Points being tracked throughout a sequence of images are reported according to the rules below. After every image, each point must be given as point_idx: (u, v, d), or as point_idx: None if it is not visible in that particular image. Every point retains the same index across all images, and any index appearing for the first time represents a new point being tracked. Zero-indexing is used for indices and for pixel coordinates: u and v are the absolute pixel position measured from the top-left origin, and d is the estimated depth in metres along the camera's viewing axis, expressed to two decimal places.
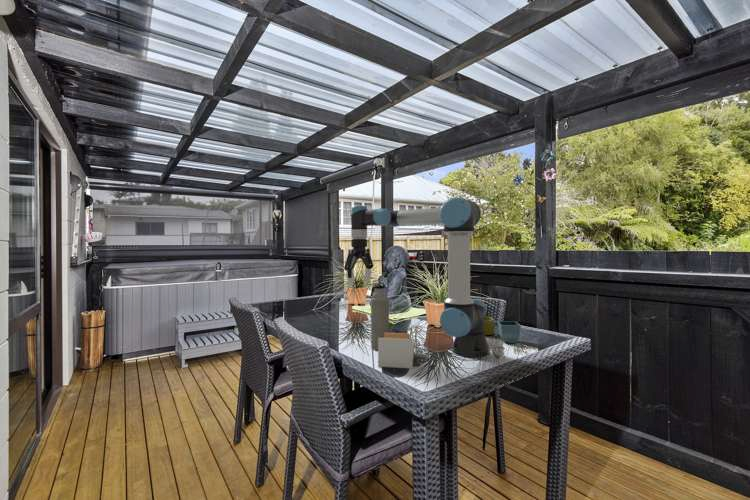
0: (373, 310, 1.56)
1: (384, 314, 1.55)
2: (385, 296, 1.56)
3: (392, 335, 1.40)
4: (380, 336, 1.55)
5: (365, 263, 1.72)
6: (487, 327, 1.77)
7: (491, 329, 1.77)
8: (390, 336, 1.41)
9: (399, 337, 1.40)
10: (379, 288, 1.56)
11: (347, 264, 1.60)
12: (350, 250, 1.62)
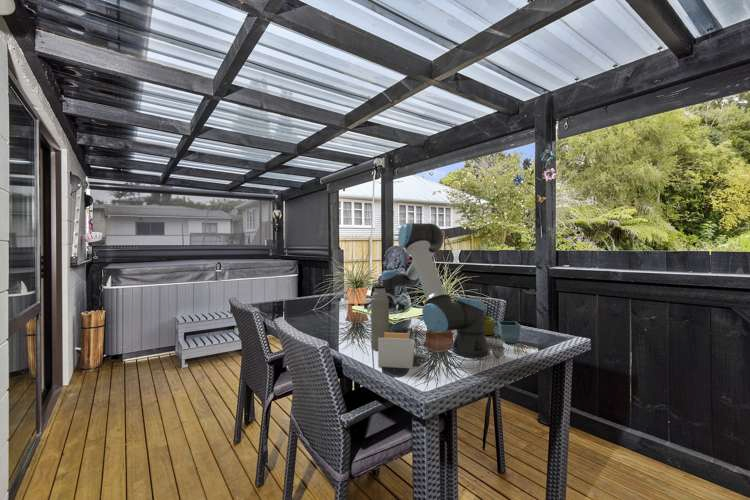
0: (373, 310, 1.56)
1: (384, 314, 1.55)
2: (385, 296, 1.56)
3: (392, 335, 1.40)
4: (380, 336, 1.55)
5: (394, 306, 1.76)
6: (487, 327, 1.77)
7: (491, 329, 1.77)
8: (390, 336, 1.41)
9: (399, 337, 1.40)
10: (379, 288, 1.56)
11: None
12: None
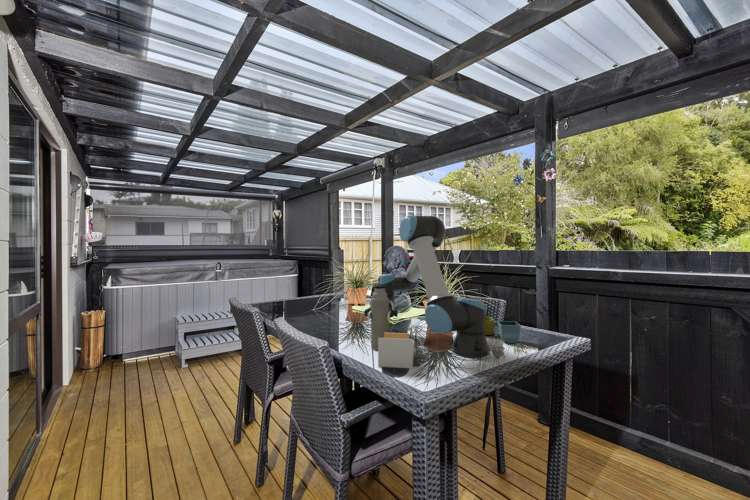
0: (373, 310, 1.56)
1: (384, 314, 1.55)
2: (385, 296, 1.56)
3: (392, 335, 1.40)
4: (380, 336, 1.55)
5: None
6: (487, 327, 1.77)
7: (491, 329, 1.77)
8: (390, 336, 1.41)
9: (399, 337, 1.40)
10: (379, 288, 1.56)
11: None
12: None
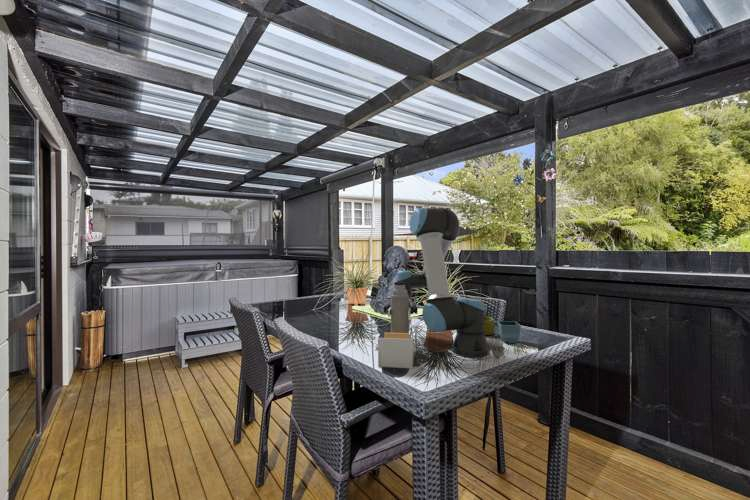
0: (393, 307, 1.53)
1: (404, 311, 1.52)
2: (405, 292, 1.53)
3: (392, 335, 1.40)
4: None
5: None
6: (487, 327, 1.77)
7: (491, 329, 1.77)
8: (390, 336, 1.41)
9: (399, 337, 1.40)
10: (399, 284, 1.53)
11: None
12: None
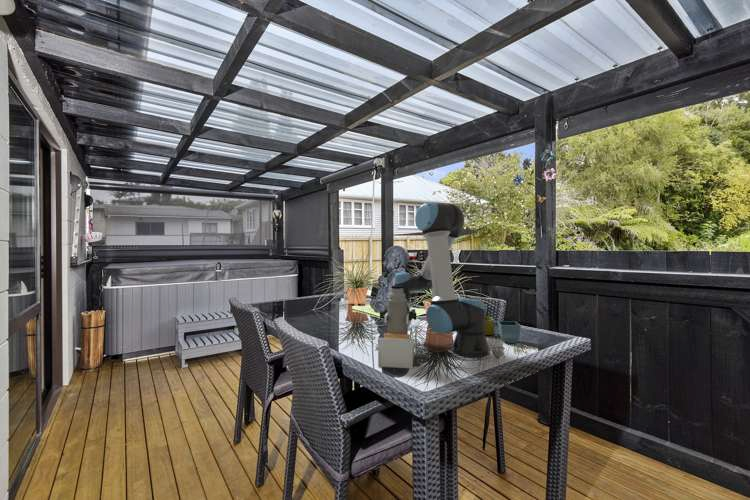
0: (390, 312, 1.41)
1: (402, 317, 1.40)
2: (403, 297, 1.41)
3: (392, 336, 1.39)
4: None
5: None
6: (487, 327, 1.77)
7: (491, 329, 1.77)
8: (390, 337, 1.39)
9: (399, 338, 1.39)
10: (397, 288, 1.41)
11: None
12: None
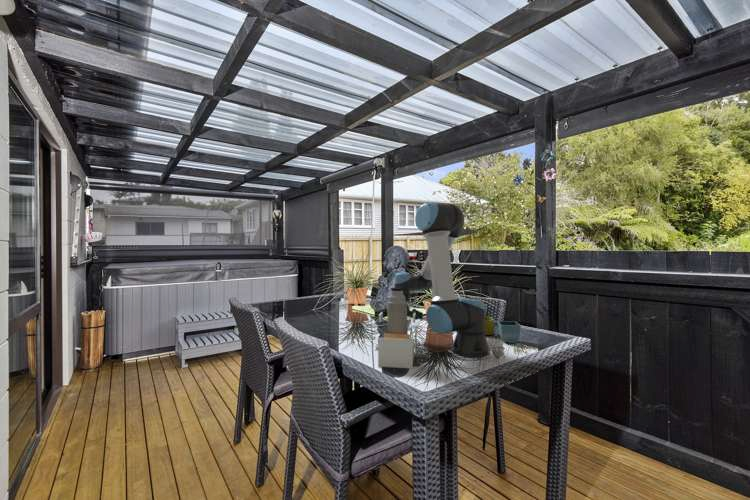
0: (390, 315, 1.41)
1: (402, 319, 1.40)
2: (403, 299, 1.41)
3: (392, 336, 1.39)
4: None
5: (411, 315, 1.49)
6: (487, 327, 1.77)
7: (491, 329, 1.77)
8: (390, 337, 1.39)
9: (399, 338, 1.39)
10: (397, 290, 1.41)
11: None
12: None
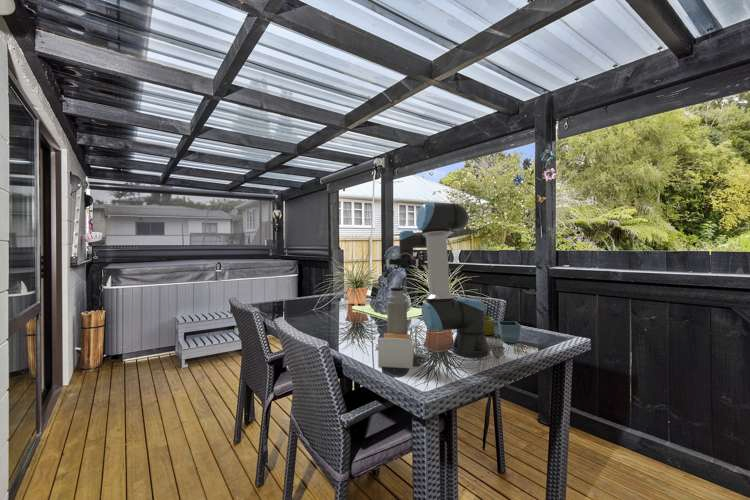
0: (390, 315, 1.41)
1: (402, 319, 1.40)
2: (403, 299, 1.41)
3: (392, 336, 1.39)
4: None
5: (414, 262, 1.68)
6: (487, 327, 1.77)
7: (491, 329, 1.77)
8: (390, 337, 1.39)
9: (399, 338, 1.39)
10: (396, 290, 1.41)
11: None
12: None
